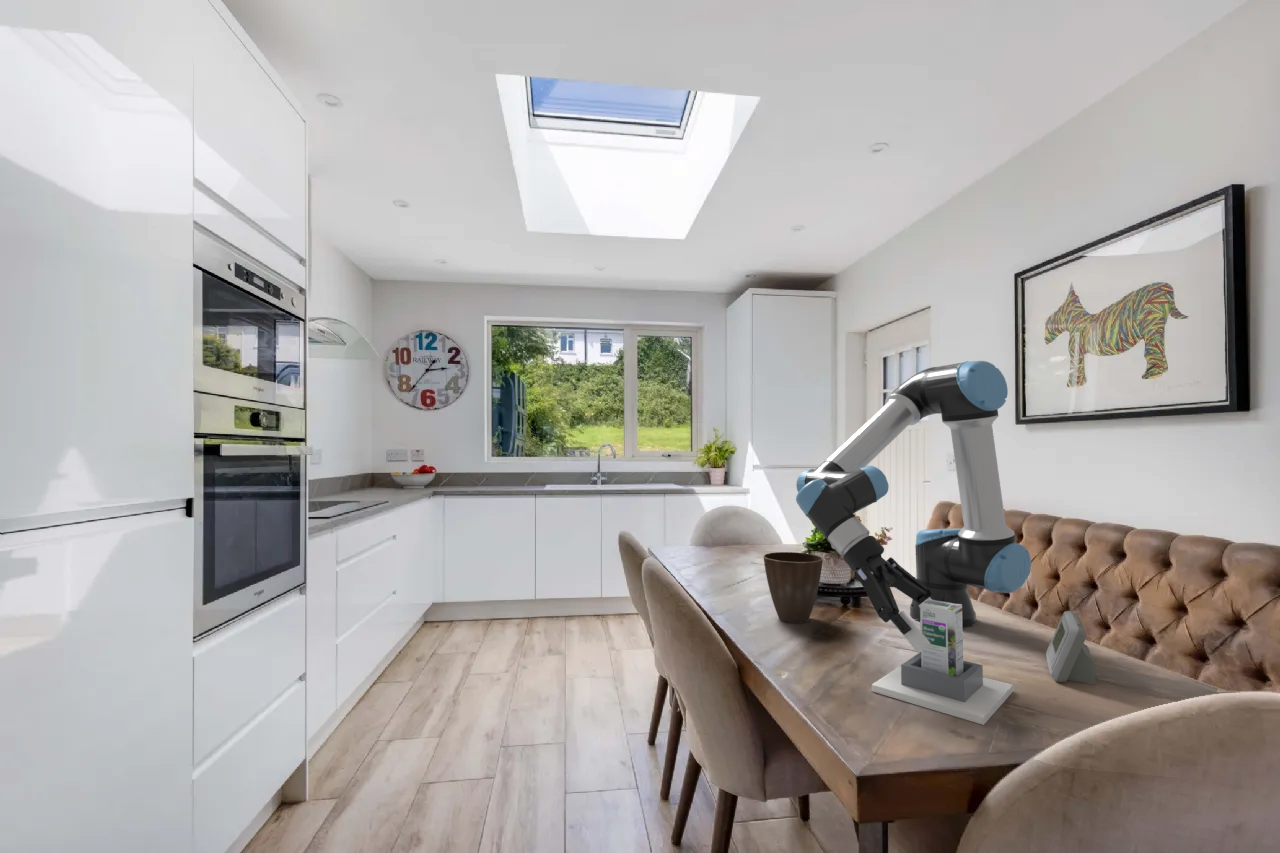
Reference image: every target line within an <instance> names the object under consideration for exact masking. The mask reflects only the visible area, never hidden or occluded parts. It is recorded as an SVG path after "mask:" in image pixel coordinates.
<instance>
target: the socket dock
mask: <svg viewBox="0 0 1280 853" xmlns="http://www.w3.org/2000/svg"><path fill="white" fill-rule="evenodd" d="M983 667H984V666H983V664H978V663H975V662H971V661H965V660H963V674H962V675H961V676H960V677H955V676H952V675H948V674H944V673H940V672H936V671H932V670H928V669H924V668H921V651H919V652H917V654H915V655H914V656H912V657H911V658H909V659H908V660H906V661H905V662H903V663H902V664H901V665H899V666H897V667H896V668H894V669H893V670H891V671H890V672H888V673H886V675H884V676H883V677H881V678H879V679H878V680H876V681H875V682H873V683H872V684H871V692H873V693H877V694H879V695H883V696H886V697H890V698H893V699H897V700H900V701H903V702H906V703H909V704H913V705H915V706H916V705H917V706H919V707H923V708H927V709H930V710H933V711H936V712H938V713H943V714H947V715H950V716H953V717H955V718H959V719H963V720H965V721H970V722H973V723H976V724H979V725H982V726H984V725H985V724H986V723H987V722H988V721H989V719H991V717H992V716H994V714H995V713H996V712H997V710H998V709H1000V707H1001V706H1002V705H1003V704H1004V703H1005V702H1006V700H1007V699H1008V698H1009V697H1010V696H1011V694H1013V692H1014V685H1013V684H1011V683H1007V682H1002V681H999V680H996V679H995V680H994V679H992V678H991V679H990V678H987V677H984V673H983V672H984V671H983Z"/></svg>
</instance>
